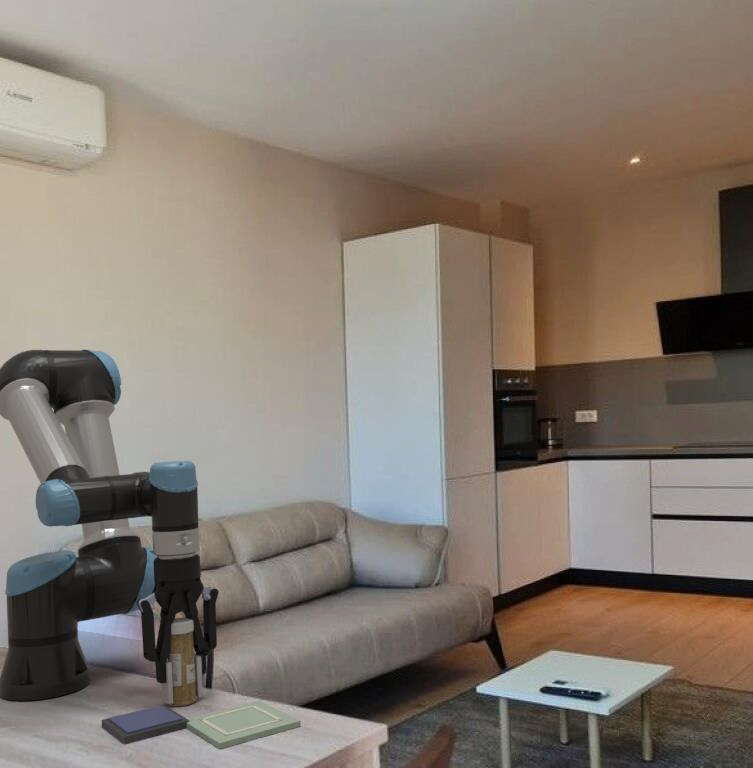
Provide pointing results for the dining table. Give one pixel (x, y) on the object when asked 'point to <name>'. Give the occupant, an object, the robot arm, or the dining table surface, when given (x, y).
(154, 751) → the dining table surface
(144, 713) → the ink pad
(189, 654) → the sprinkles bottle
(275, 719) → the board
